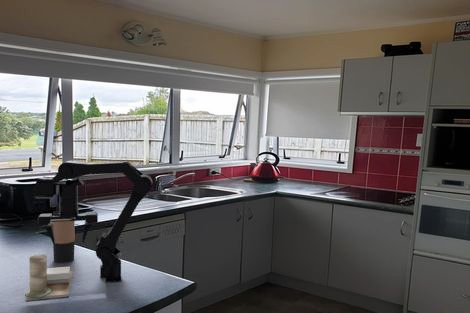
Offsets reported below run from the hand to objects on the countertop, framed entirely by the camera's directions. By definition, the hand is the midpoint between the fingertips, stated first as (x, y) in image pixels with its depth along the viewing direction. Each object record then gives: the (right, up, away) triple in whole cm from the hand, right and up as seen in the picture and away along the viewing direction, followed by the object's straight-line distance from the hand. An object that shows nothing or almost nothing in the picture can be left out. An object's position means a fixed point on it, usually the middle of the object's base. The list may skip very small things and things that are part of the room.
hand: (68, 243), depth 140 cm
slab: (-3, -12, -4) cm, 13 cm away
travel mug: (-9, -12, +18) cm, 23 cm away
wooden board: (-4, -13, -4) cm, 14 cm away
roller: (-4, -12, -12) cm, 18 cm away
